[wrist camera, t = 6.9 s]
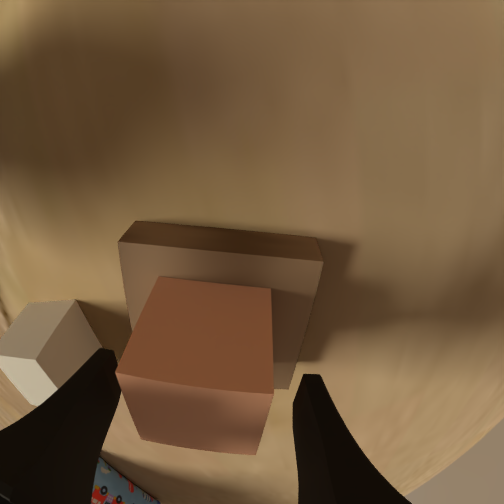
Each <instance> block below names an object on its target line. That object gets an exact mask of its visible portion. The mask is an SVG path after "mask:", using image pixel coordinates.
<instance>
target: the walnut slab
mask: <svg viewBox="0 0 504 504" xmlns="http://www.w3.org/2000/svg"><path fill="white" fill-rule="evenodd" d="M118 248H119V256H120V263H121V271H122V277H123V284H124V290H125V296H126V302H127V308H128V313H129V318H130V324H131V329H132V332H133V330H134V327H135V325H136V323H137V321H138V319H139V316H140V314H141V312H142V310H143V308H144V306H145V304H146V301H147V299H148V297H149V295H150V293H151V291H152V289H153V287H154V285H155V283H156V281H157V278H158V276H160V277H168V278H177V279H185V280H194V281H203V282H212V283H221V284H231V285H240V286H250V287H261V288H271V306H272V339H273V378H274V389H289V386H290V383H291V380H292V377H293V374H294V370H295V367H296V364H297V360H298V357H299V354H300V350H301V347H302V343H303V340H304V336H305V333H306V329H307V326H308V322H309V318H310V315H311V311H312V307H313V303H314V299H315V296H316V292H317V288H318V284H319V280H320V276H321V272H322V267H323V263H324V261H323V258H322V255H321V252H320V249H319V246H318V243H317V240H316V238H313V237H304V236H294V235H284V234H275V233H265V232H255V231H245V230H234V229H224V228H213V227H202V226H191V225H179V224H168V223H156V222H143V221H135V222H134V223H133V224H132V225H131V227H130V228H129V229H128V230H127V231H126V232H125V234H124V235H123V236H122V237H121V238H120V240H119V241H118Z"/></svg>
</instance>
